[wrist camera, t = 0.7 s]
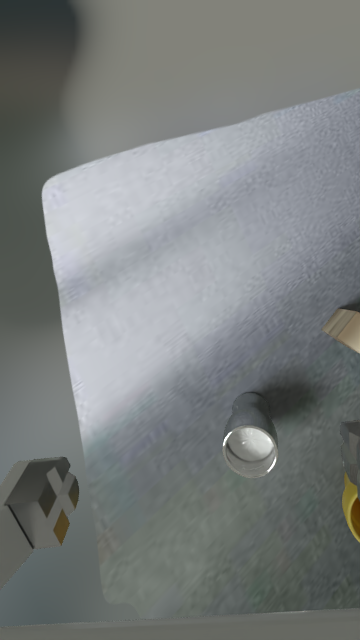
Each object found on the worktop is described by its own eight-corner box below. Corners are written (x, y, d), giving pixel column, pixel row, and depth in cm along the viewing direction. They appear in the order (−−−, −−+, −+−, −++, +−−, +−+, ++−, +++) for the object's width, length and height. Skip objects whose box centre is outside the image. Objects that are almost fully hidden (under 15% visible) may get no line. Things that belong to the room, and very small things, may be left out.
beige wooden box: (360, 323, 51) (386, 330, 41) (344, 344, 52) (364, 356, 42) (337, 308, 51) (357, 311, 42) (321, 329, 52) (336, 337, 42)
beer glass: (269, 387, 54) (275, 421, 40) (276, 429, 55) (284, 478, 40) (226, 391, 56) (216, 426, 41) (233, 432, 56) (225, 481, 42)
